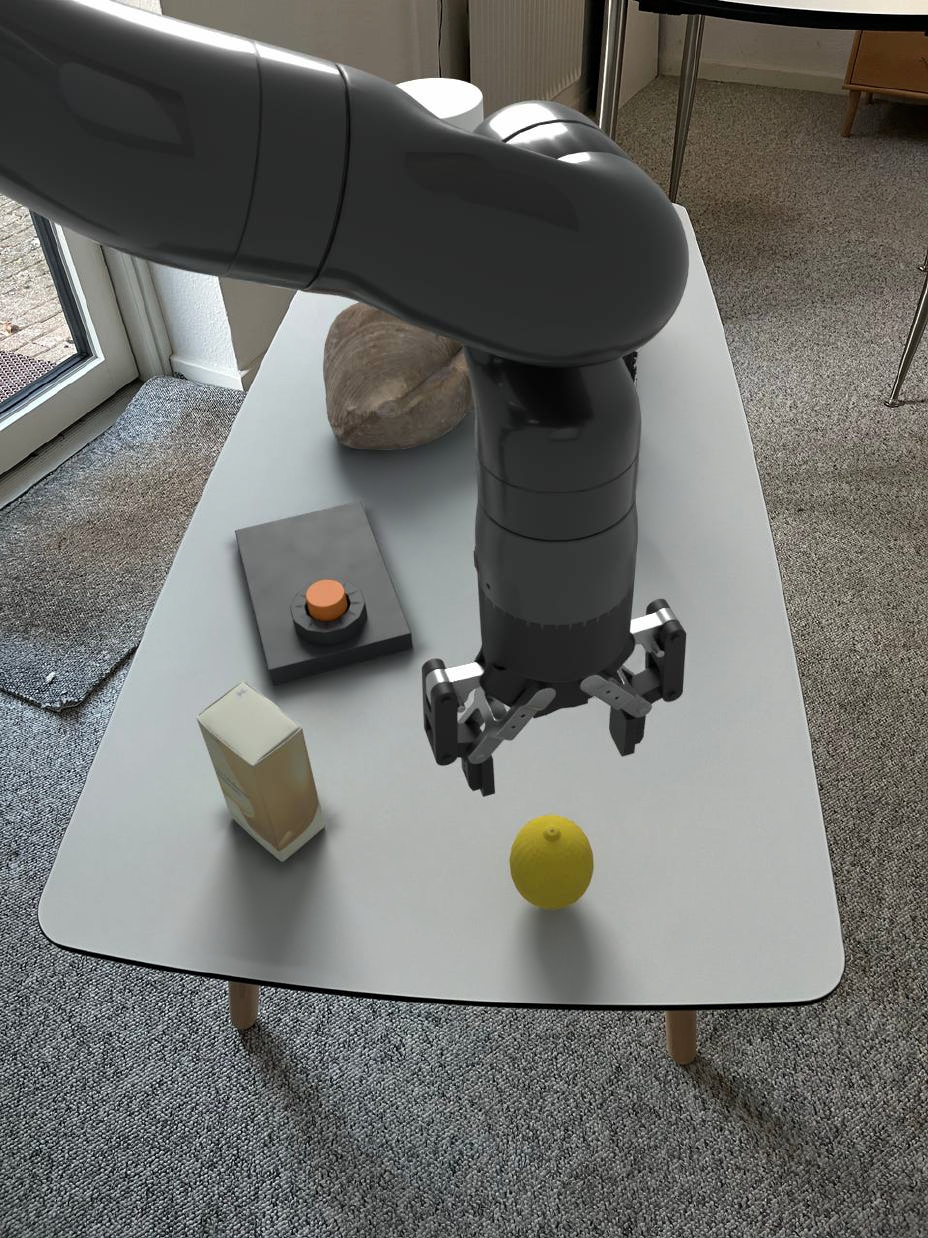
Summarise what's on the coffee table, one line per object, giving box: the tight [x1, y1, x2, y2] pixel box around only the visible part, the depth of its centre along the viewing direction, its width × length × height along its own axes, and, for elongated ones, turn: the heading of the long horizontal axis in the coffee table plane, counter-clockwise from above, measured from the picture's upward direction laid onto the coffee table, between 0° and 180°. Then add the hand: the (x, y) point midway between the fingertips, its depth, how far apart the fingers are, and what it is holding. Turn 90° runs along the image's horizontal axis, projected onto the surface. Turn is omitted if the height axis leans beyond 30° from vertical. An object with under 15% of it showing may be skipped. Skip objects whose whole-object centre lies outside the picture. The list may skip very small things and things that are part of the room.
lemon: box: [509, 814, 595, 911], centre depth 71 cm, size 6×6×8 cm
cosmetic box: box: [195, 680, 326, 863], centre depth 74 cm, size 6×4×12 cm
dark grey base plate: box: [234, 500, 414, 686], centre depth 93 cm, size 12×18×4 cm, turn 17°
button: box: [306, 580, 347, 621], centre depth 88 cm, size 3×3×2 cm
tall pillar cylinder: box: [395, 77, 485, 132], centre depth 115 cm, size 11×11×25 cm
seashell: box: [322, 302, 475, 451], centre depth 108 cm, size 16×17×15 cm
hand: (553, 763), depth 62 cm, fingers open, 8 cm apart
